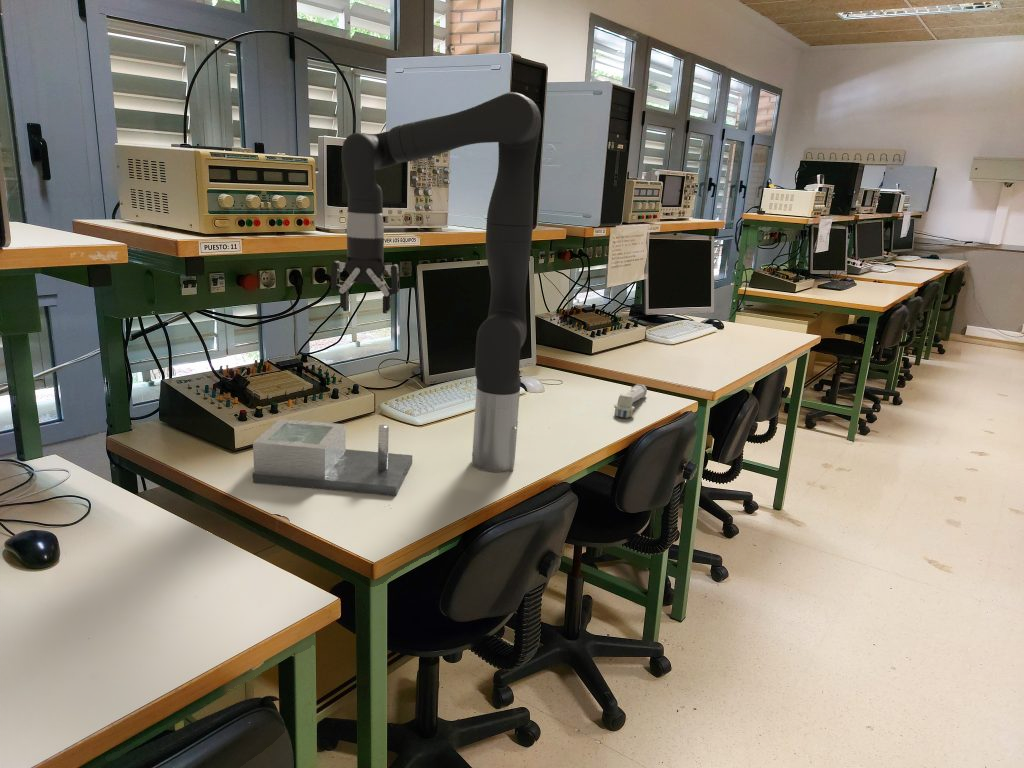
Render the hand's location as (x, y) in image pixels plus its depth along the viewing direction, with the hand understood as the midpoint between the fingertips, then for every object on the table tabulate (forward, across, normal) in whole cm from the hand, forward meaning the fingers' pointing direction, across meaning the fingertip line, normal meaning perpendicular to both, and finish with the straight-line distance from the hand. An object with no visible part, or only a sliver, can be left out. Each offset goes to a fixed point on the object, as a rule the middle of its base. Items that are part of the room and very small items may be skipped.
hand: (365, 311), depth 153 cm
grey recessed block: (+28, +9, +17) cm, 34 cm away
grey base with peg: (+30, +2, +17) cm, 35 cm away
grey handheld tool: (+32, -65, -44) cm, 85 cm away
